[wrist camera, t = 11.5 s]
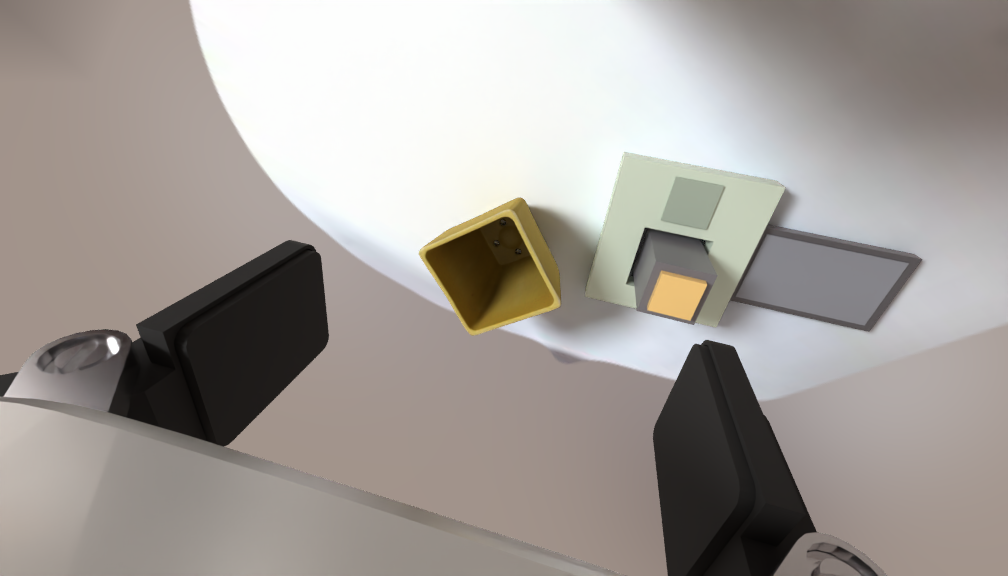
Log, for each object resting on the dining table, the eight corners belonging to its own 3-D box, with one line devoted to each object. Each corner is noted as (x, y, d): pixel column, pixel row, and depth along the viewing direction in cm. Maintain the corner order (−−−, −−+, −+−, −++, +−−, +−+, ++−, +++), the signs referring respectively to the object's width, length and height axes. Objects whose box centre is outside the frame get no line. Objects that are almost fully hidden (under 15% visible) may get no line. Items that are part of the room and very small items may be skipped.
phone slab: (756, 222, 34) (760, 226, 33) (914, 254, 33) (923, 259, 32) (722, 293, 38) (725, 299, 37) (863, 325, 36) (869, 332, 35)
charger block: (648, 226, 36) (656, 264, 30) (698, 237, 36) (719, 279, 29) (632, 269, 39) (637, 314, 32) (680, 280, 38) (695, 329, 31)
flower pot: (572, 260, 40) (563, 308, 32) (495, 288, 43) (469, 338, 35) (533, 176, 37) (511, 207, 29) (453, 214, 40) (415, 250, 32)
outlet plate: (623, 151, 34) (624, 157, 32) (776, 180, 32) (786, 188, 30) (586, 286, 40) (584, 297, 39) (711, 315, 39) (716, 328, 37)
